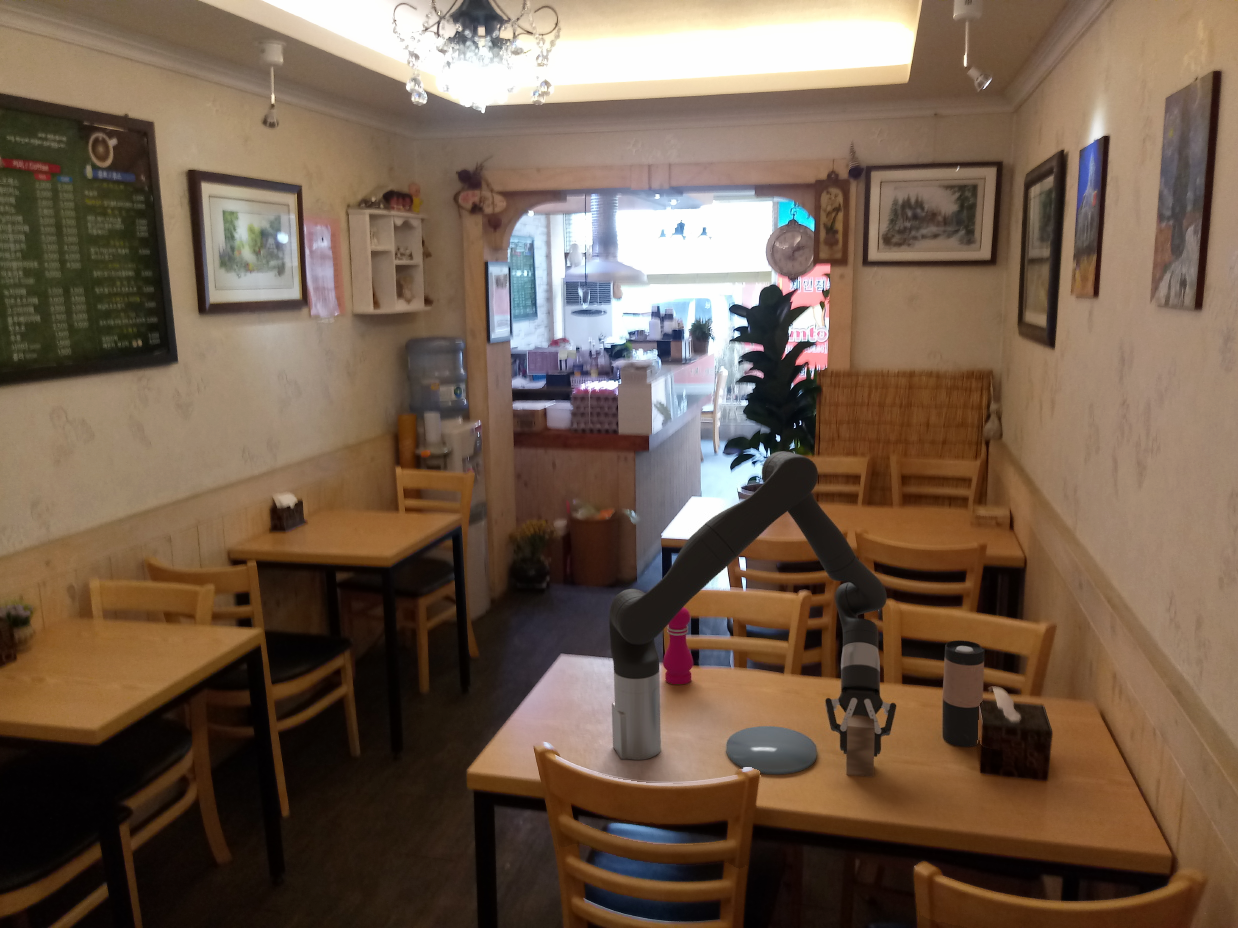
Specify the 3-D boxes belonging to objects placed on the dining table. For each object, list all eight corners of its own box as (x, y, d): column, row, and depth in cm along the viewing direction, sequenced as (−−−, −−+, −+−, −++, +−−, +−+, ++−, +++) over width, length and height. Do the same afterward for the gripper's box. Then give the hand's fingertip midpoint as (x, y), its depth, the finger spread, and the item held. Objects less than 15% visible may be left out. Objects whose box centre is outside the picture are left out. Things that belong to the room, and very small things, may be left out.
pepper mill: (691, 686, 220) (690, 606, 217) (661, 684, 222) (659, 604, 218) (695, 674, 227) (694, 596, 224) (665, 672, 229) (664, 594, 225)
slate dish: (749, 780, 177) (749, 775, 177) (712, 739, 194) (712, 733, 194) (833, 765, 182) (833, 759, 182) (790, 725, 199) (790, 720, 199)
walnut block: (846, 774, 179) (847, 725, 177) (846, 761, 183) (847, 714, 182) (873, 776, 178) (874, 727, 176) (872, 763, 182) (873, 716, 181)
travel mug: (934, 739, 191) (938, 647, 188) (950, 726, 197) (954, 637, 193) (971, 751, 186) (975, 657, 183) (986, 737, 192) (991, 645, 188)
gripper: (823, 660, 186) (822, 744, 177) (898, 665, 183) (900, 751, 173) (823, 674, 192) (822, 756, 183) (896, 679, 189) (898, 763, 179)
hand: (860, 753), depth 178 cm, fingers closed on walnut block, 5 cm apart
